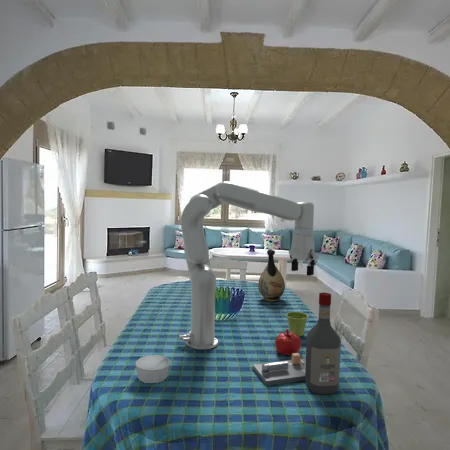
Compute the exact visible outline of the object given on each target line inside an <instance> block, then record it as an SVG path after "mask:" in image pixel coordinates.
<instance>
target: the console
mask: <svg viewBox="0 0 450 450" xmlns="http://www.w3.org/2000/svg"><path fill="white" fill-rule="evenodd" d="M285 361H287V362H288V369H285V370H277V371H270V372H268V373H264V372H262V364H263V363H264V362H263V363H253V364H252V370H253V371H254V373H255V374H256V375H257V376H258V377H259V378H260V380H261V382H263V384H265V386H266V387H267V386H273V385H279V384H287V383H294V382H303V381H305V367H306V357H305V358H301V362H300V364H293V363H292V359H288V360H287V359H286V360H280V361H279V360H278V361H271V362H269V363H277V362H285Z"/></svg>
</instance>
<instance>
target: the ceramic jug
mask: <svg viewBox="0 0 450 450" xmlns="http://www.w3.org/2000/svg"><path fill="white" fill-rule="evenodd" d="M266 253H267V256H268V257H267V258H268V259H267V260H268V261H267V264H266V266H265V267H264V269H263V271H262V272H261V274H260V276H259V279H258V282H257V283H258V284H257V288H258V292H259V293H260V294H261V296H262V297H263V299H264V301H267V302H278V301H280V300H281V297H282V296H283V295H284V292H285V289H286V286H285V285H286V284H285V280H284V276H283V275H282V273H281V272H280V270H279V269H278V266H276V264H275V259H274V255H275V254H276V251H275V250H273V249H272V248H269V249H267V252H266Z"/></svg>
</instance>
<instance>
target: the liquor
mask: <svg viewBox="0 0 450 450" xmlns="http://www.w3.org/2000/svg"><path fill="white" fill-rule="evenodd" d="M331 305H332V294H331V293H329V292H319V294H318V319H317V322H316V324H315V325H314V326H313V327H312V328H311V329H309V330H308V332H307V334H306V340H305V341H306V345H305V359H306V367H305V380H304V381H305V384H306V386H307V387H308V388H309V390H310V392H312V393H314V394H317V395H334V394H336V392H337V391H338V390H339V389H340V370H341V367H340V366H341V345H342V340H341V337H340V335H338V332H336V331H335V329H334V327H332V325H331V324H332V323H331Z"/></svg>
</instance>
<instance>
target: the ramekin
mask: <svg viewBox="0 0 450 450" xmlns="http://www.w3.org/2000/svg"><path fill="white" fill-rule="evenodd" d="M170 366H171V360H170V359H169V358H168V357H167V356H164V355H160V354H158V355H157V354H150V355H145V356H142V357H140V358H138V359H137V360H136V361H135V369H136V375H137V379H138V380H139V381H140V382H141V381H142V383H143V382H144V383H143V384H146V383H156V384H159V382H160V383H162V382H164V381H165V380H166V379H167V378H168V376H169V370H170Z"/></svg>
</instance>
